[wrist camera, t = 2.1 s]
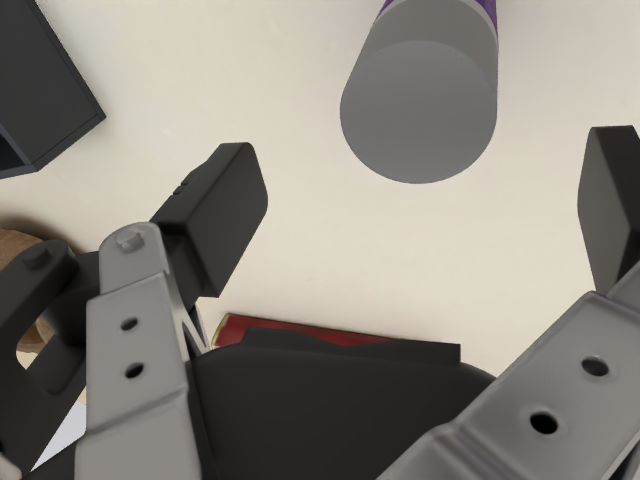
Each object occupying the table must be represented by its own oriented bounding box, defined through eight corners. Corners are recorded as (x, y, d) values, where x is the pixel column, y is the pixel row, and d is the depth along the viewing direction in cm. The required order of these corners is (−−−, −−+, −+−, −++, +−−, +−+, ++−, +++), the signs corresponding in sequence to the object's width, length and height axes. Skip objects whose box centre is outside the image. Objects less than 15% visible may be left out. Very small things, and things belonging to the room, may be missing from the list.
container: (431, -87, 23) (383, -1, 12) (515, -37, 23) (541, 92, 12) (384, 6, 26) (311, 142, 15) (457, 49, 26) (439, 211, 16)
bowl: (75, 199, 40) (15, 306, 35) (164, 281, 51) (128, 372, 46) (-68, 208, 46) (-138, 300, 41) (40, 279, 57) (-5, 360, 52)
